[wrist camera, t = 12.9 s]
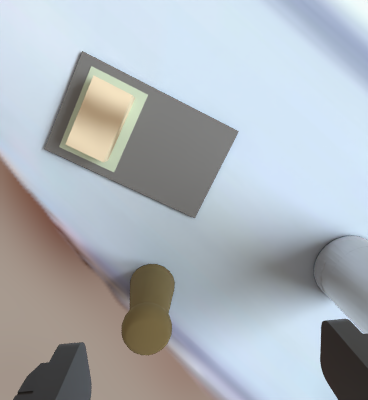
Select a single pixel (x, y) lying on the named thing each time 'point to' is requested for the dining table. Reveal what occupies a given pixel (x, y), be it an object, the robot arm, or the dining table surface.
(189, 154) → the grey board
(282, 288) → the dining table surface
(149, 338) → the cork
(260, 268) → the dining table surface
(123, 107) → the maple tile
